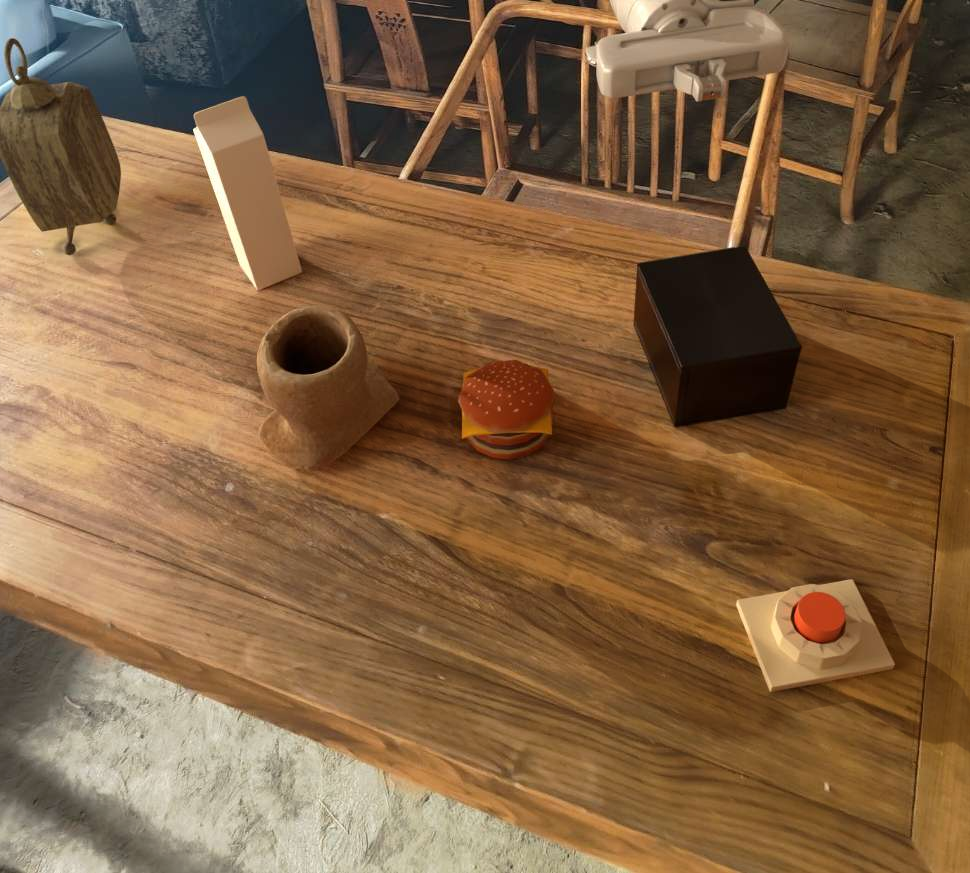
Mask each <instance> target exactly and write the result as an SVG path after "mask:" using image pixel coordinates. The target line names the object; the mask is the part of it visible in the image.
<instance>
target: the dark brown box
mask: <svg viewBox="0 0 970 873" xmlns="http://www.w3.org/2000/svg"><path fill="white" fill-rule="evenodd" d="M729 248H730V249H725V248H723V249H724V250H718V249H716V250H717V251H712V250H710V251H711V252H706V251H704V252H705V253H700V252H698V253H699V254H694V253H692V254H693V255H688V254H686V255H687V256H682V255H680V256H681V257H675V256H673V257H674V258H669V257H667V258H668V259H663V258H661V259H662V260H657V259H655V260H656V261H651V260H649V261H650V262H645V261H643V262H644V263H639V262H638V263H637V264H636V278H635V292H634V293H635V294H634V310H633V323H632V325H633V328H634V330H635V332H636V335H637V337H638V338H637V339H638V340H639V342H640V345H641V347H642V351H643V354H644V355H645V357H646V360H647V363H648V365H649V367H650V370H651V373H652V375H653V378H654V381H655V383H656V385H657V388H658V391H659V393H660V395H661V398H662V400H663V402H664V405H665V408H666V410H667V412H668V416H669V418H670V420H671V423H672V425H673V427H674V428H679V427H686V426H691V425H698V424H703V423H708V422H709V423H710V422H715V421H720V420H726V419H732V418H737V417H744V416H749V415H755V414H761V413H768V412H773V411H779V410H784V409H787V408H788V404H789V399H790V396H791V391H792V387H793V384H794V380H795V376H796V371H797V368H798V363H799V360H800V357H801V356H800V355H801V353H802V349H803V346H802V344H801V342H800V340H799V338H798V336H797V335H796V333H795V331H794V330H793V328H792V326H791V324H790V322H789V321H788V318H787V317H786V315H785V314H784V311H783V310H782V308H781V307H780V304H779V303H778V301H777V300H776V297H775V296H774V293H773V292H772V291H771V288H770V287H769V285H768V283H767V282H766V281H765V278H764V276H763V275H762V273H761V271H760V269H759V267H758V266H757V264H756V262H755V261H754V259H753V257H752V255H751V254H750V251H749V250H748V248H747V246H746V245H742V246H737V247H736V246H735V248H731V247H729Z"/></svg>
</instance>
